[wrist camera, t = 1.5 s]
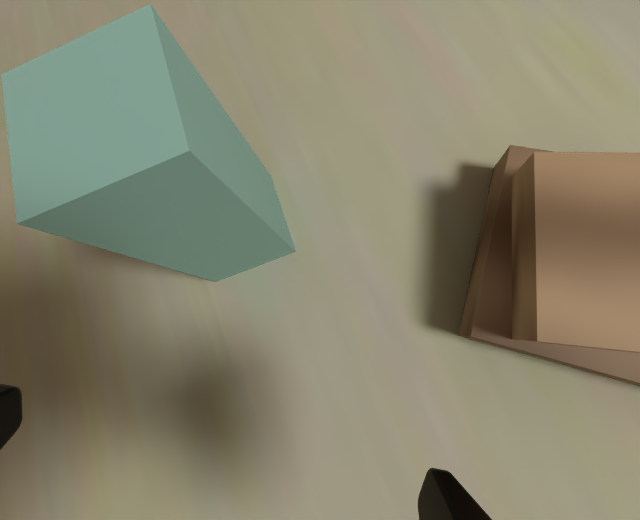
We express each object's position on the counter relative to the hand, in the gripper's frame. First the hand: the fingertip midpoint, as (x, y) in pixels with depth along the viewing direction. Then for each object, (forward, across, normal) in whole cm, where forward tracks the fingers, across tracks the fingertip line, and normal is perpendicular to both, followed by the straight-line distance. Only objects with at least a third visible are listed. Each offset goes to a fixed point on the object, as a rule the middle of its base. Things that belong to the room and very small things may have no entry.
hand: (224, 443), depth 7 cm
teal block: (+15, +4, -2) cm, 16 cm away
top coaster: (+9, -14, -5) cm, 18 cm away
